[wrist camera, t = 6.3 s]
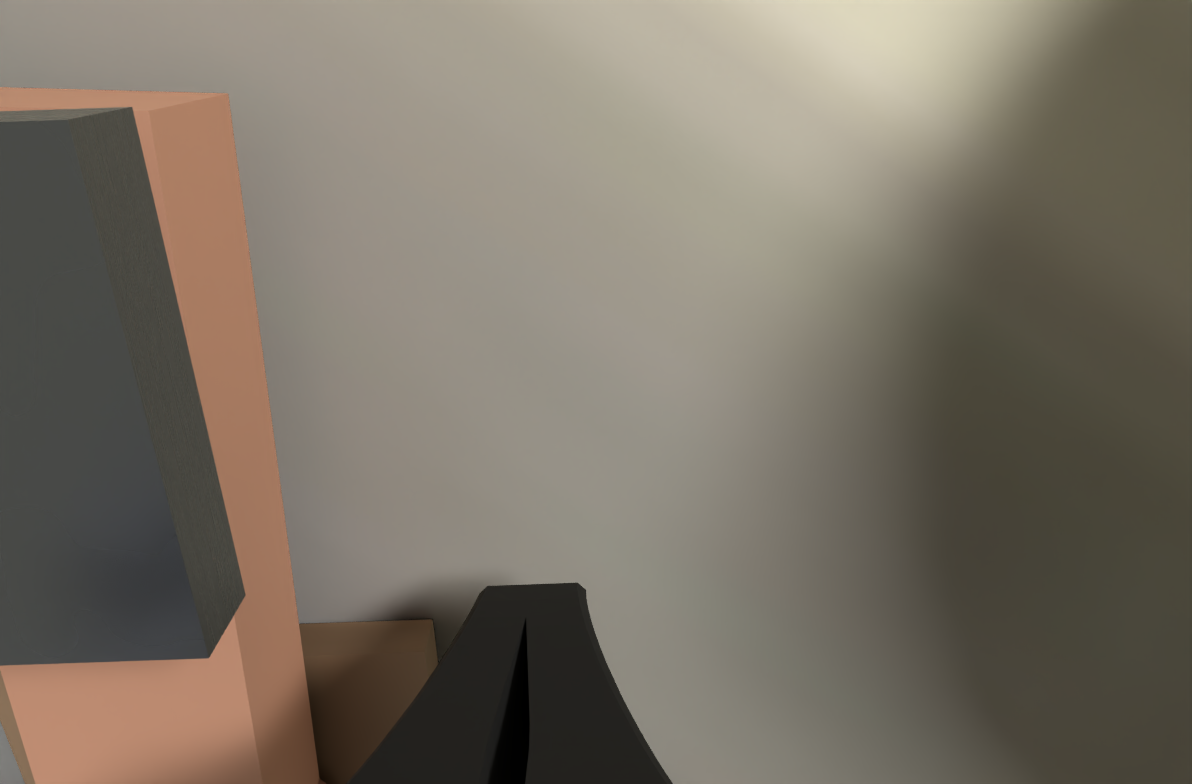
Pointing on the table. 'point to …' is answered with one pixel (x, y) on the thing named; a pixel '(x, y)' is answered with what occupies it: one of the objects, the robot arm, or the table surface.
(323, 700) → the pintle plate
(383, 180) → the table surface
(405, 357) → the table surface
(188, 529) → the panel
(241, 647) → the link
